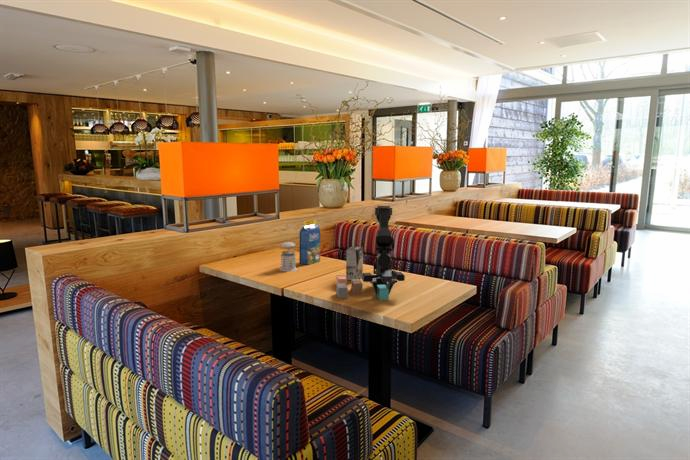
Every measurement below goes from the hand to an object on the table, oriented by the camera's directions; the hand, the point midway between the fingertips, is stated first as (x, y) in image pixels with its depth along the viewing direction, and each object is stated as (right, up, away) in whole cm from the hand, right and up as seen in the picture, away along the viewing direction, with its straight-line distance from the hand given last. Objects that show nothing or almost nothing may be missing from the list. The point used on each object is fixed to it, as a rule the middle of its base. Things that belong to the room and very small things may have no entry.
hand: (382, 295), depth 204 cm
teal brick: (0, -1, 0) cm, 1 cm away
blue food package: (-38, +10, +62) cm, 73 cm away
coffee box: (-12, +4, +30) cm, 33 cm away
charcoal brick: (-18, -1, +1) cm, 18 cm away
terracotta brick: (-19, +2, +15) cm, 24 cm away
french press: (-48, +7, +45) cm, 66 cm away
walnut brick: (-11, 0, +8) cm, 14 cm away
